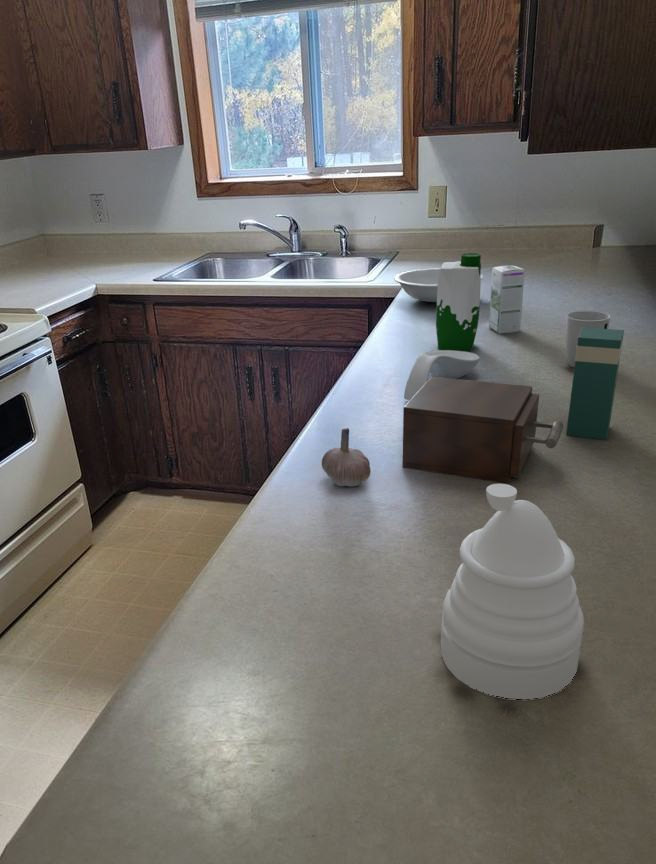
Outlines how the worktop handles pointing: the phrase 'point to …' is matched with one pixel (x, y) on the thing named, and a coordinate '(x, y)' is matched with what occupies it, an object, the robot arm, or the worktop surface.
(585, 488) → the worktop surface
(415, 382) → the spoon rest
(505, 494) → the honey pot
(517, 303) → the syrup box
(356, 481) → the garlic bulb
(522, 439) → the drawer
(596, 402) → the carton
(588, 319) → the cup
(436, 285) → the soup bowl
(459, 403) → the cabinet
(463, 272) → the milk carton
